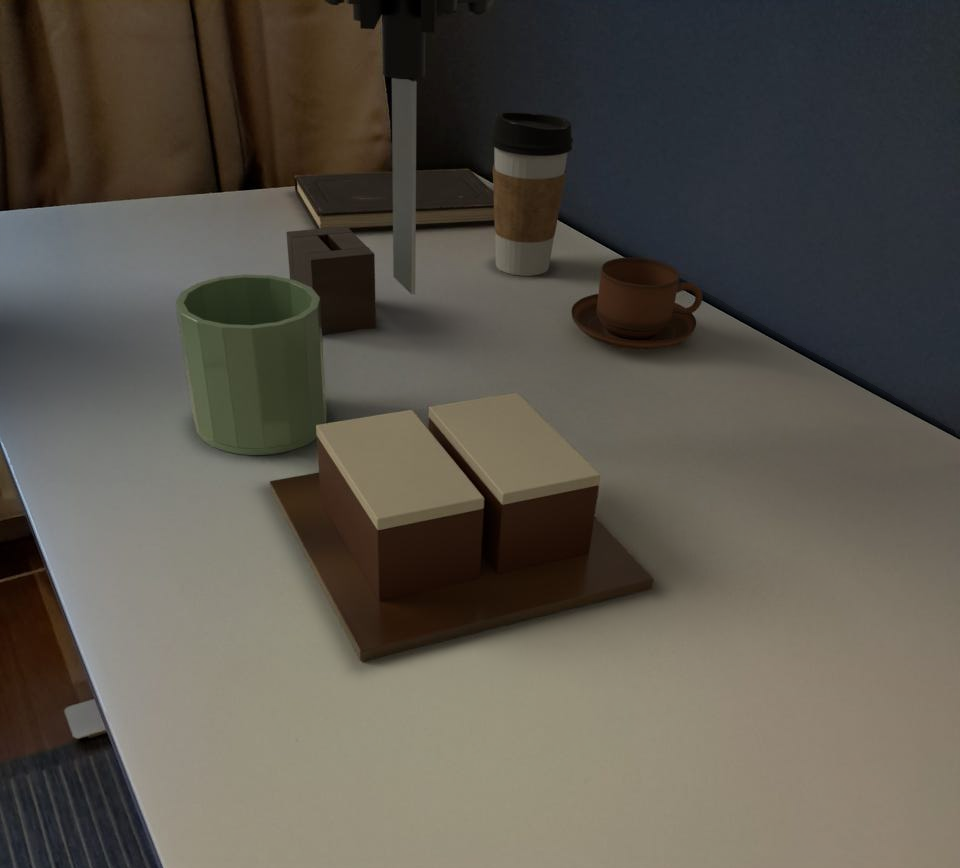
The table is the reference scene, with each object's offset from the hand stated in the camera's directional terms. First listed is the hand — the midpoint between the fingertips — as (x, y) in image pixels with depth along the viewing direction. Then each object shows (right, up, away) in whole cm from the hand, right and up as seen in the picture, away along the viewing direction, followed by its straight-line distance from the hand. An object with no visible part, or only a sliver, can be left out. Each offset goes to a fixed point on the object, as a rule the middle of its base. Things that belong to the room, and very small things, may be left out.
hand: (397, 1), depth 53 cm
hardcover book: (-6, +19, +69) cm, 72 cm away
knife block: (-10, -3, +42) cm, 43 cm away
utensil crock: (-13, -17, +25) cm, 33 cm away
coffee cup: (+9, +7, +55) cm, 56 cm away
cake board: (+3, -28, +14) cm, 31 cm away
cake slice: (+6, -26, +15) cm, 31 cm away
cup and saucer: (+19, -5, +42) cm, 47 cm away
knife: (-1, -10, +15) cm, 18 cm away
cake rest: (-1, -28, +12) cm, 31 cm away
